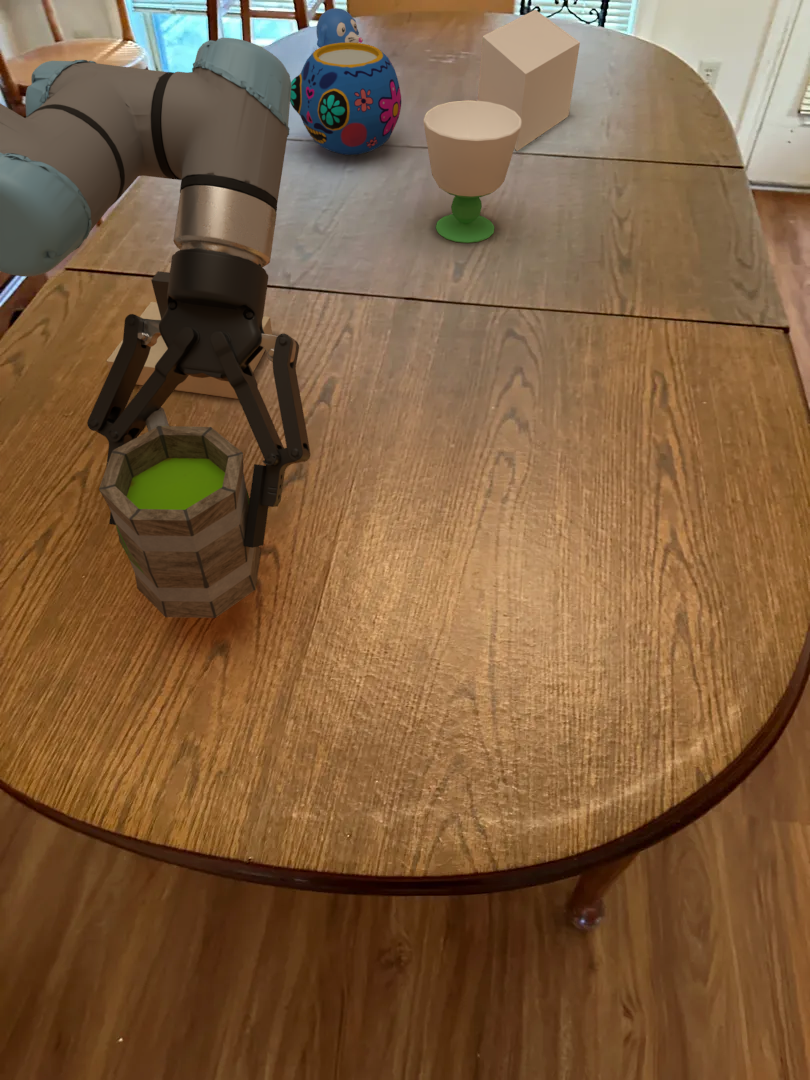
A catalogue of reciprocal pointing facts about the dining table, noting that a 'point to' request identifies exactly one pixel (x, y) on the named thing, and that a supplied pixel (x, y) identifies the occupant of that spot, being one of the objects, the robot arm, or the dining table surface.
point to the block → (529, 72)
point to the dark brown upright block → (161, 290)
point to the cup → (469, 161)
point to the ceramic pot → (347, 97)
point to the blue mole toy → (337, 28)
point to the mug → (183, 518)
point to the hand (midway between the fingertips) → (186, 535)
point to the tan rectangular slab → (191, 383)
